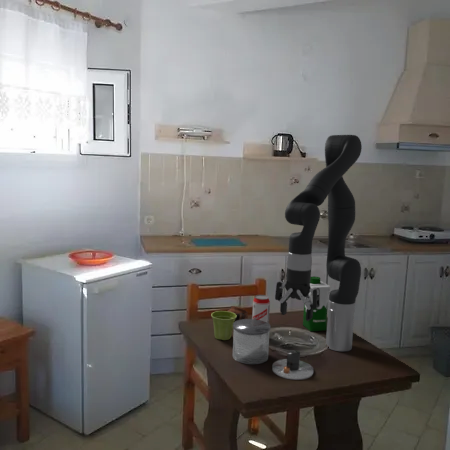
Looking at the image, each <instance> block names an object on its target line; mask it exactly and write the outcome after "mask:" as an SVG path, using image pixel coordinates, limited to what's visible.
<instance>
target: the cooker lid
mask: <svg viewBox="0 0 450 450" xmlns="http://www.w3.org/2000/svg"><path fill="white" fill-rule="evenodd" d="M286 355H287V356H286V358H283V359H278V360H275V361H274V362H273V363H272V364H271V365H272V366H271V367H272V369H271V370H272V372H273V373H274V374H275V375H277V376H278V377H280V378H283V379H286V380H296V381H299V380H307V379H309V378H311V377H312V376H313V375H314V367H313V366H312V365H311V364H309V363H308V362H305V361H304V360H301V359H300V358H301V353H300V351H298V350H295V349H294V350H293V349H290V350H288V351H287V354H286Z"/></svg>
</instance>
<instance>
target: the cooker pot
mask: <svg viewBox="0 0 450 450" xmlns="http://www.w3.org/2000/svg"><path fill="white" fill-rule="evenodd" d="M271 329H272V327H271V324H270V323H269V324H268V323H267V322H264V321H261V320H256V319H252V318H248V319H242V320H238V321H235V322H234V323H233V332H232V335H233V338H232V358H233V359H234V361H236V362H238V363H242V364H244V365H259V364H263V363H265V362H267V361H268V360H269V349H270V330H271Z"/></svg>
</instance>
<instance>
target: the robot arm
mask: <svg viewBox="0 0 450 450" xmlns="http://www.w3.org/2000/svg"><path fill="white" fill-rule="evenodd" d="M362 145H363V144H362V141H361V139H360V137H358V136H357V135H356V134H331V135H329V136H328V137H327V138H326V140H325V144H324V158H325V160H324V161H325V167H324V168H323V169H321V170H320V171H319V172H317V173H316V174H315V175H314V176H313V177H312V178H311V179H310V180H309V182H308V183H307V185H306V187H305V188H304V190H302V191H301V192H299V194H297V195H296V196H295V197H294V198H293V199H292V200H290V202H289V203H288V204H287V206H286V208H285V211H284V218H285V221H286V222H287V223H289V224H290V225H294V226H302V230H301V232H293V233H291V234H290V236H289V238H288V252H287V259H286V274H285V275H286V276H285V279H286V281H285V282H284V281H283V280H279V281H277V282H276V285H275V295H274V299H275V300H276V301H278V302H280V307H279V309H280V310H279V311H280V313H281V316H286V314H287V312H288V302H287V301H288V300H289V299H295V300H298V301H301V302H302V303H303V305H304V304H305V305H306V307H307V309H306V321H309V320H311V319H312V317H313V309H316V308H318V307H319V306H320V289H319V288H316V289H313V288H311V287H310V280H311V277H312V262H313V260H312V251H313V241H314V236H315V233H316V229H317V227H318V225H319V222H320V218H321V211H320V208H319V207H320V206H321V205H323V203H324V202H325V201H326V199H327V219H328V220H327V222H328V223H327V227H328V230H327V231H328V233H327V235H328V236H327V237H328V238H327V239H328V240H327V252H326V253H327V254H326V273H327V276H328V277H329V278H330V279H332V280H335V281H337V282H339V286H338V289H332V290H330V291H329V296H328V309H327V330H326V332H325V333H326V335H325V345H326V344H327V345H328V346H329V348H328V349H329V350H332V351H336V352H349V351H351V350H352V348H353V337H354V336H353V335H354V324H355V313H356V299H357V296H358V294H359V290H360V284H361V283H360V282H361V277H362V276H361V275H362V266H361V264H360V261H359V260H358V259H356V258H353V257H350V256H347V255H346V251H345V250H346V247H345V246H346V240H347V237H348V235H349V233H350V231H351V230H352V228H353V226H354V224H355V221H356V200H355V197H354V195H353V193H352V190H350V188H349V186H348V184H347V183H346V181H345V179H344V175H345V174H346V173H347V172H348V171H349V169H350V168H351V167H352V166H354V164H355V163H356V162H357V161H358V159H359V158H360V156H361V154H362V148H363V147H362ZM284 288H285V291H286V292H285V293H284V294H283V291H284ZM310 292H311V295H312V296H313V303H312V301H311V298H310V296H309V293H310ZM305 297H306V298H305Z"/></svg>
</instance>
